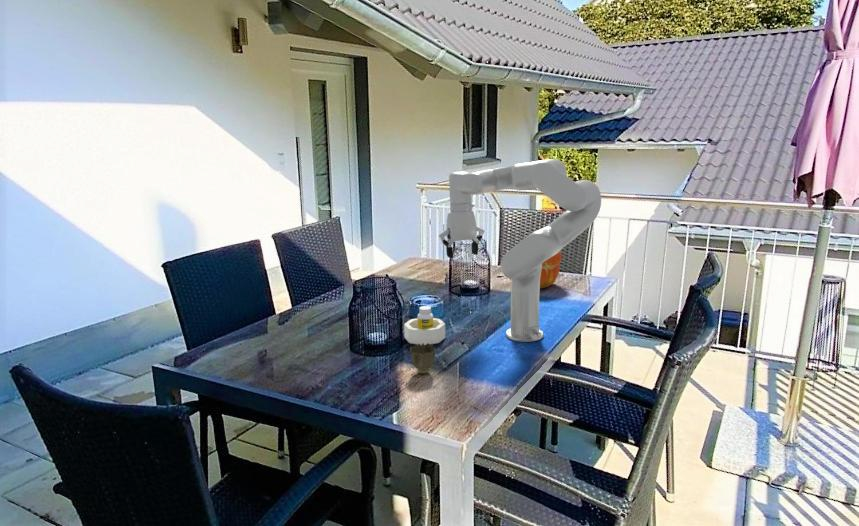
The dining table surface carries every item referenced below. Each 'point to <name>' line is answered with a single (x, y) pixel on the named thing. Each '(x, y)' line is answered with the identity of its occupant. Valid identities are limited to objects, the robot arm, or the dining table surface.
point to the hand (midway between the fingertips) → (462, 255)
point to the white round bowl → (424, 332)
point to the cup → (422, 357)
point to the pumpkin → (550, 270)
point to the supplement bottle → (425, 318)
